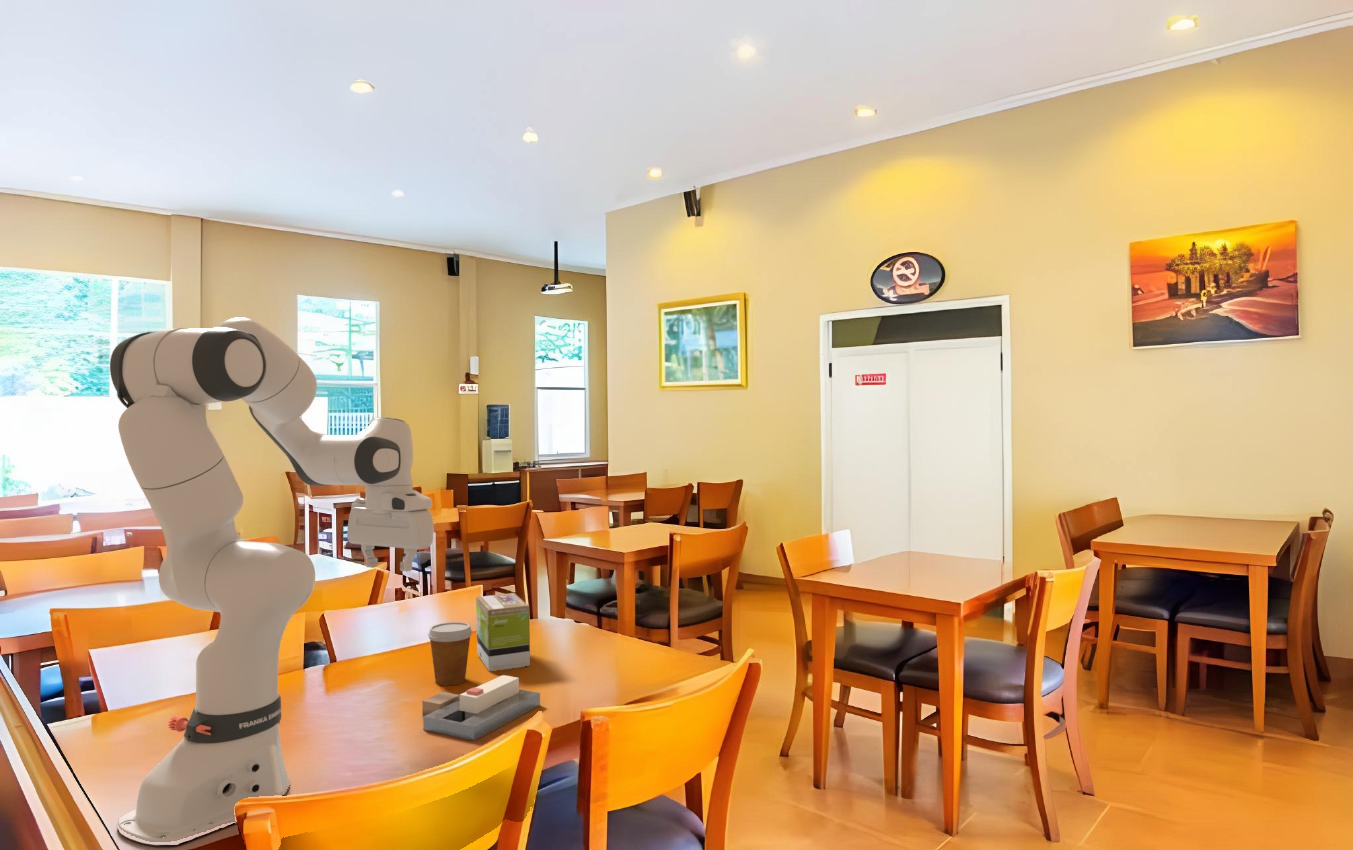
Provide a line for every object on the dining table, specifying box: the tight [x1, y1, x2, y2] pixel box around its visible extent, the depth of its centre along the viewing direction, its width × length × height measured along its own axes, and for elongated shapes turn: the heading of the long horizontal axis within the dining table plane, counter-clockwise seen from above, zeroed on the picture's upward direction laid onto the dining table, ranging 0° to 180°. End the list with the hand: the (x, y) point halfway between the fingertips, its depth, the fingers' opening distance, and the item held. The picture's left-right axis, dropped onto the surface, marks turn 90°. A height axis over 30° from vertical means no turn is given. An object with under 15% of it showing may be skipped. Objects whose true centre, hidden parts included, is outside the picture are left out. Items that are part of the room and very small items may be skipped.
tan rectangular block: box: [421, 691, 460, 717], centre depth 156 cm, size 6×4×3 cm
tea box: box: [475, 592, 531, 672], centre depth 191 cm, size 15×10×15 cm, turn 25°
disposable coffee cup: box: [427, 621, 473, 686], centre depth 176 cm, size 10×10×12 cm
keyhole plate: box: [422, 688, 541, 742], centre depth 154 cm, size 20×12×2 cm, turn 154°
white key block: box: [459, 674, 520, 720], centre depth 156 cm, size 13×4×6 cm, turn 154°
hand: (388, 569), depth 158 cm, fingers open, 8 cm apart
